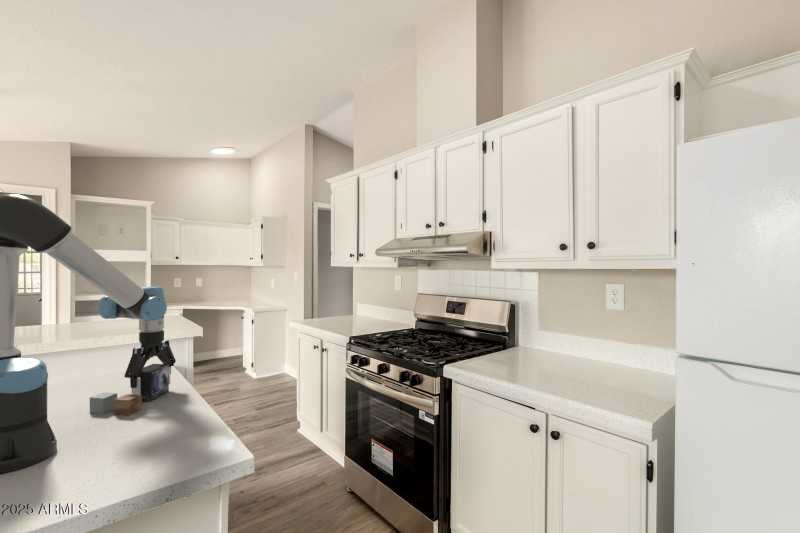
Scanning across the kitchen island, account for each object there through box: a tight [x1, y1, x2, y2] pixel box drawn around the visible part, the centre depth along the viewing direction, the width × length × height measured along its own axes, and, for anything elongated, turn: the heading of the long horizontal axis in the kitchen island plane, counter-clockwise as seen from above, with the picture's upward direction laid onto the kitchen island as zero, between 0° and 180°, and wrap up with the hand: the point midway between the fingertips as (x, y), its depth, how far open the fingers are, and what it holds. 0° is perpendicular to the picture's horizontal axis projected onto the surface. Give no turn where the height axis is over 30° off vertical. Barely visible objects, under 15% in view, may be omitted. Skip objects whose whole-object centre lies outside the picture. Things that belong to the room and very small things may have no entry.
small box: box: [135, 363, 170, 402], centre depth 138 cm, size 11×6×10 cm, turn 179°
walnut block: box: [113, 393, 142, 417], centre depth 123 cm, size 5×5×5 cm
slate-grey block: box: [89, 391, 118, 415], centre depth 125 cm, size 5×5×5 cm
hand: (151, 390), depth 138 cm, fingers open, 13 cm apart
